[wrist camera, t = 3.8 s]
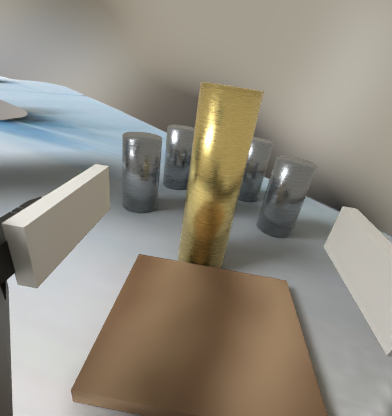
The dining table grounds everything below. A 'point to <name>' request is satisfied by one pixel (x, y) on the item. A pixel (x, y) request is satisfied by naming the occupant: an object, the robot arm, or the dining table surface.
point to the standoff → (216, 170)
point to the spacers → (179, 172)
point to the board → (200, 346)
